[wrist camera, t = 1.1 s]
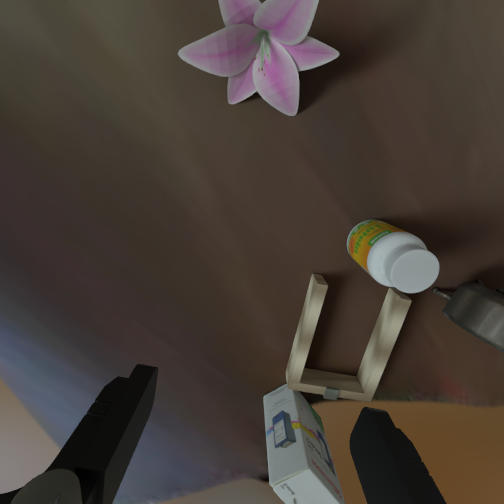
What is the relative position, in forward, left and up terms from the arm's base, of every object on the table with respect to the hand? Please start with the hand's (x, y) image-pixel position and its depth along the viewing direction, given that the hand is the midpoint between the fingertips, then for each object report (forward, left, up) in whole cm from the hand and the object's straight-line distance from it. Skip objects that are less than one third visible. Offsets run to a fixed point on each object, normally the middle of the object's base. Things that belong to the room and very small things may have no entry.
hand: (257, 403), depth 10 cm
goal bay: (+10, +13, -23) cm, 28 cm away
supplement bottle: (-3, +13, -23) cm, 26 cm away
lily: (-18, -3, -23) cm, 29 cm away
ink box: (+23, +10, -23) cm, 34 cm away
